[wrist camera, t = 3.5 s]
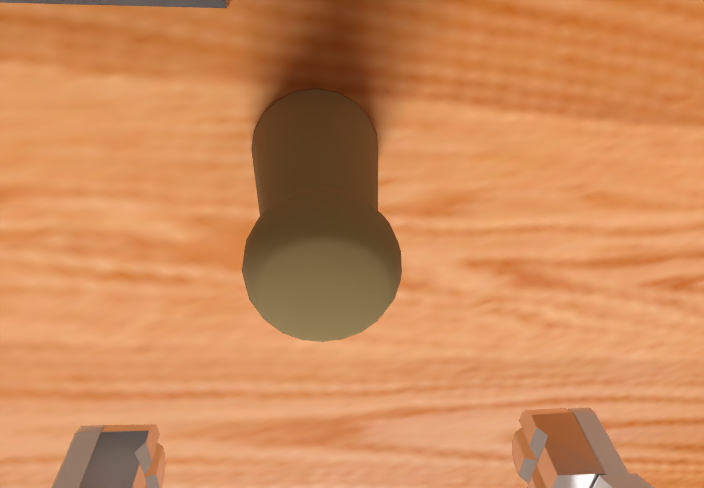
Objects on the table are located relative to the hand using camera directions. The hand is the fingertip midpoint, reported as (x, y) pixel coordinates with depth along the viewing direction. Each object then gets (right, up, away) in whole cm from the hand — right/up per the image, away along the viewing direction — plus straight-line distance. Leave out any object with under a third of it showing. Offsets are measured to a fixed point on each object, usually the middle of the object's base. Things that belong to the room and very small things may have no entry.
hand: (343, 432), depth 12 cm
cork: (-2, +9, +13) cm, 16 cm away
